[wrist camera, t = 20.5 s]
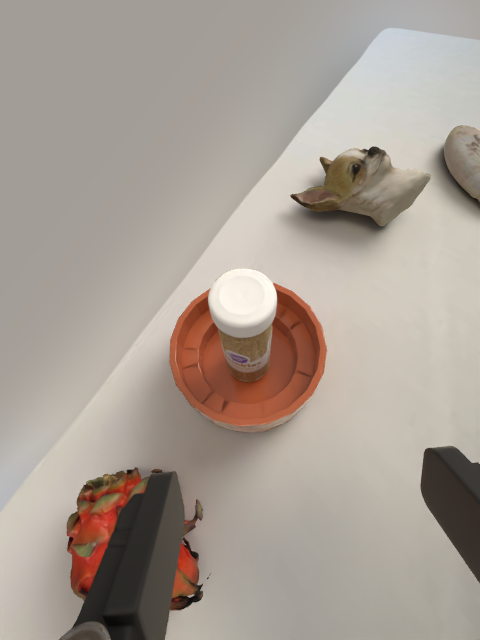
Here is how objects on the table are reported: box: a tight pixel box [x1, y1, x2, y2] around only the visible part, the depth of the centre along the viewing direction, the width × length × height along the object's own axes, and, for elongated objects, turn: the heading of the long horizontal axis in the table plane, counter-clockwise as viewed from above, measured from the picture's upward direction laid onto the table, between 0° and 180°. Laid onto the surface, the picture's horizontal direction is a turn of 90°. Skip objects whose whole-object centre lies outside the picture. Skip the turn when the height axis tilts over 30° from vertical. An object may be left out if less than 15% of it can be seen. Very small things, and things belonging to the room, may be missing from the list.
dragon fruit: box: [67, 468, 210, 610], centre depth 22 cm, size 8×8×12 cm
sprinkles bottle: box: [208, 269, 277, 382], centre depth 25 cm, size 5×5×14 cm
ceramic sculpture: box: [290, 147, 431, 226], centre depth 37 cm, size 11×9×15 cm
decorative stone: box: [444, 125, 480, 202], centre depth 41 cm, size 6×16×3 cm, turn 2°
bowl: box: [169, 283, 327, 433], centre depth 29 cm, size 14×14×6 cm
